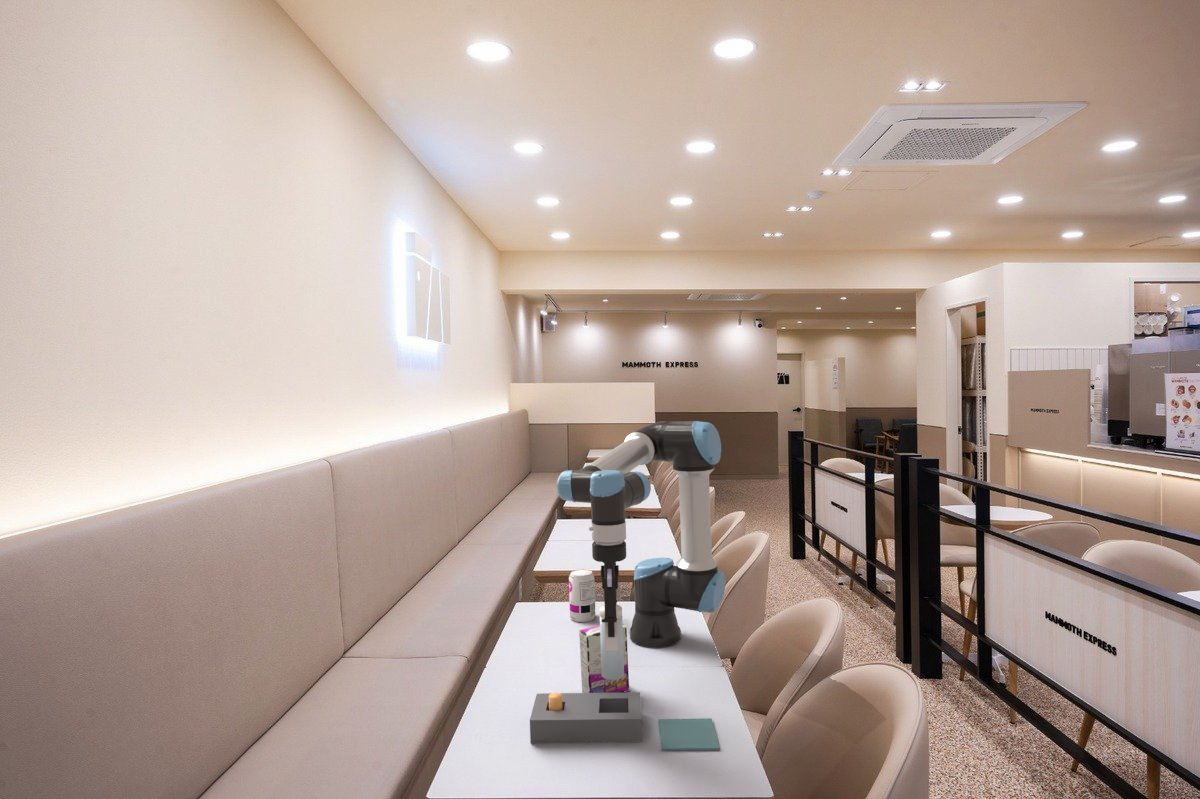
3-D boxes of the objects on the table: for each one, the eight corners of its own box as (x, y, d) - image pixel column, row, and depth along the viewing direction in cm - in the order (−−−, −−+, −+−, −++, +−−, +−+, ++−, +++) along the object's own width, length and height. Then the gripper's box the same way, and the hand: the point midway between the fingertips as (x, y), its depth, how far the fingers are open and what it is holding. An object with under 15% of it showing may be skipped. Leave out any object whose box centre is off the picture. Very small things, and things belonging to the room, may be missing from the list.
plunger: (563, 718, 152) (562, 692, 152) (562, 725, 149) (561, 699, 149) (550, 718, 152) (549, 692, 152) (548, 725, 149) (547, 699, 149)
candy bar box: (619, 683, 171) (618, 620, 171) (629, 691, 167) (628, 626, 166) (580, 694, 166) (578, 628, 165) (589, 702, 162) (587, 635, 161)
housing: (640, 713, 156) (640, 692, 156) (642, 741, 144) (641, 718, 144) (537, 714, 157) (536, 693, 156) (530, 743, 145) (529, 720, 145)
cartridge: (613, 667, 153) (610, 602, 153) (628, 674, 150) (626, 607, 149) (596, 674, 150) (594, 608, 149) (612, 682, 146) (610, 614, 146)
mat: (658, 721, 152) (658, 718, 152) (711, 720, 152) (711, 718, 152) (661, 750, 140) (661, 748, 140) (719, 750, 140) (719, 748, 140)
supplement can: (567, 622, 214) (566, 576, 214) (573, 613, 222) (571, 568, 222) (592, 623, 213) (591, 576, 212) (597, 614, 221) (596, 568, 220)
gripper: (593, 531, 158) (596, 629, 159) (590, 552, 140) (593, 662, 141) (625, 531, 157) (628, 628, 158) (626, 551, 139) (629, 662, 140)
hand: (612, 644), depth 149 cm, fingers closed on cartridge, 5 cm apart
